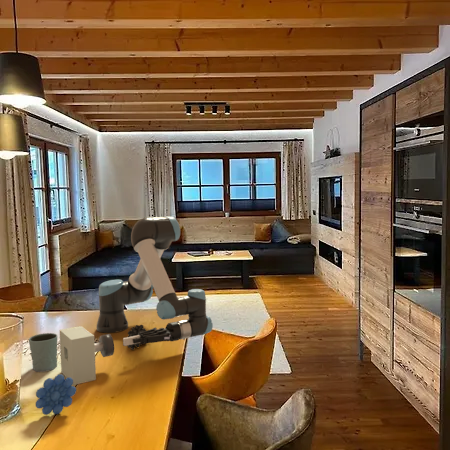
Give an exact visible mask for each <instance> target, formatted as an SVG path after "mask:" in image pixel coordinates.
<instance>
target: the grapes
mask: <svg viewBox="0 0 450 450" xmlns="http://www.w3.org/2000/svg"><path fill="white" fill-rule="evenodd" d="M76 392H77V388H76V387H75V385H73V379H72V378H70V377H69V378H65V375H64V374H63V373H61V374H57V375H56V376H55V377H54V379H53V378H51V377H49V378H46V379H45V380H44V382H43V386H42V387H39V388H38V389H37V390H36V392H35V396H36V397H37V400H36V401H35V407H36V408H37V409H40V410H41V411H42V412H41V413H42V414H43V415H45V416H47V415H50V414H51V413H53V414H54V415H59V414H60V413H62V411H63V409H64V408H68V407H70V406H72V403H73V398H72V397H73V396H75V395H76Z"/></svg>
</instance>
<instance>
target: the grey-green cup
mask: <svg viewBox="0 0 450 450" xmlns="http://www.w3.org/2000/svg"><path fill="white" fill-rule="evenodd" d="M28 343H29V350H30V352H31V353H30V356H31V360H32V362H31V363H32V369H33V371H34V372H49V371H52V370H54V369H55V368H57V366H58V358H57V356H58V334H56V333H55V332H54V333H53V332H47V333H45V332H44V333H40V334H35V335H32V336H30V337H29V338H28Z"/></svg>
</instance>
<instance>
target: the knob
mask: <svg viewBox="0 0 450 450" xmlns="http://www.w3.org/2000/svg"><path fill="white" fill-rule="evenodd" d="M113 338H114V337H113V336H112V334H111V333H106V334H102V335H100V336H99V339H98V342H94V343H95V353H98V352H100V353H101V356H102V357H103V358H106V357H111V356H113V355H114V354H115V342H114V339H113Z"/></svg>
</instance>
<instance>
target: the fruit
mask: <svg viewBox="0 0 450 450" xmlns="http://www.w3.org/2000/svg"><path fill="white" fill-rule="evenodd" d="M143 331H147V329H146V328H144V325H143V324H139V325H138V324H136V325H135V326H132V327H130V330H129V331H128V332H127V334H128V335H127V337H131V336H136V335H138V333H140V332H143ZM144 344H145V342H144V343H137V344H132V345H127V346H126V347H128V348H129V349H130V350H132V351H134V350H135V349H136V348H139V347H140V346H143V345H144Z"/></svg>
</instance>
